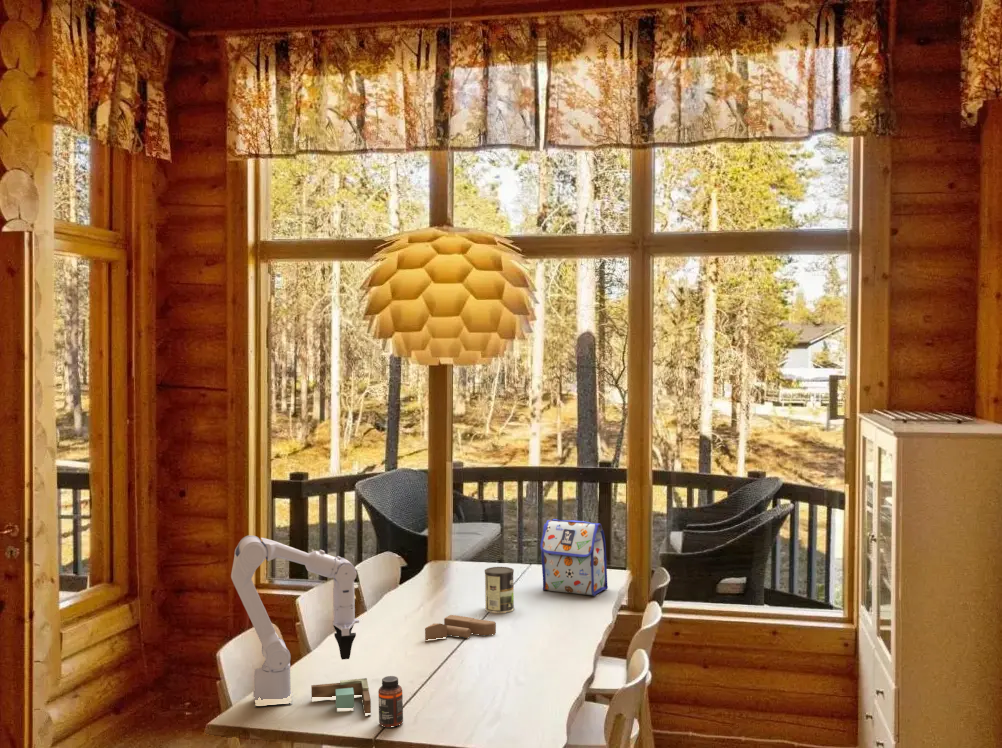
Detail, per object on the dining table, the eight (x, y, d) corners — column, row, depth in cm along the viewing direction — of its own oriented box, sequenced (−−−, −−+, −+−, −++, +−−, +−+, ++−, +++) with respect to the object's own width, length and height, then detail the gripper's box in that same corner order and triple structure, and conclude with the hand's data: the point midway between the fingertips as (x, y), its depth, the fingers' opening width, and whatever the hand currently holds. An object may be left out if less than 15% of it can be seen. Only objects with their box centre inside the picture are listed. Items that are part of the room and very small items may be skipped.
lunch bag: (537, 592, 343) (536, 522, 342) (555, 582, 357) (554, 514, 357) (593, 599, 332) (592, 527, 331) (609, 588, 347) (609, 519, 346)
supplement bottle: (404, 718, 227) (403, 673, 227) (402, 728, 221) (401, 682, 221) (380, 719, 227) (379, 674, 226) (377, 729, 221) (377, 683, 220)
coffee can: (514, 605, 326) (513, 566, 325) (513, 613, 316) (513, 573, 315) (485, 605, 326) (485, 566, 326) (484, 613, 316) (484, 573, 315)
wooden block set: (448, 611, 302) (496, 617, 294) (448, 628, 302) (496, 635, 294) (422, 624, 287) (472, 632, 279) (422, 642, 287) (472, 650, 279)
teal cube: (354, 711, 232) (353, 694, 232) (336, 713, 231) (336, 695, 231) (353, 704, 236) (353, 687, 236) (335, 706, 235) (335, 689, 235)
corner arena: (312, 721, 226) (311, 703, 225) (311, 700, 239) (311, 683, 239) (370, 715, 229) (370, 697, 229) (366, 695, 242) (366, 678, 242)
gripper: (360, 610, 239) (361, 661, 240) (357, 596, 253) (357, 644, 254) (333, 612, 238) (334, 664, 238) (331, 598, 252) (332, 646, 252)
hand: (344, 654), depth 246 cm, fingers open, 7 cm apart
